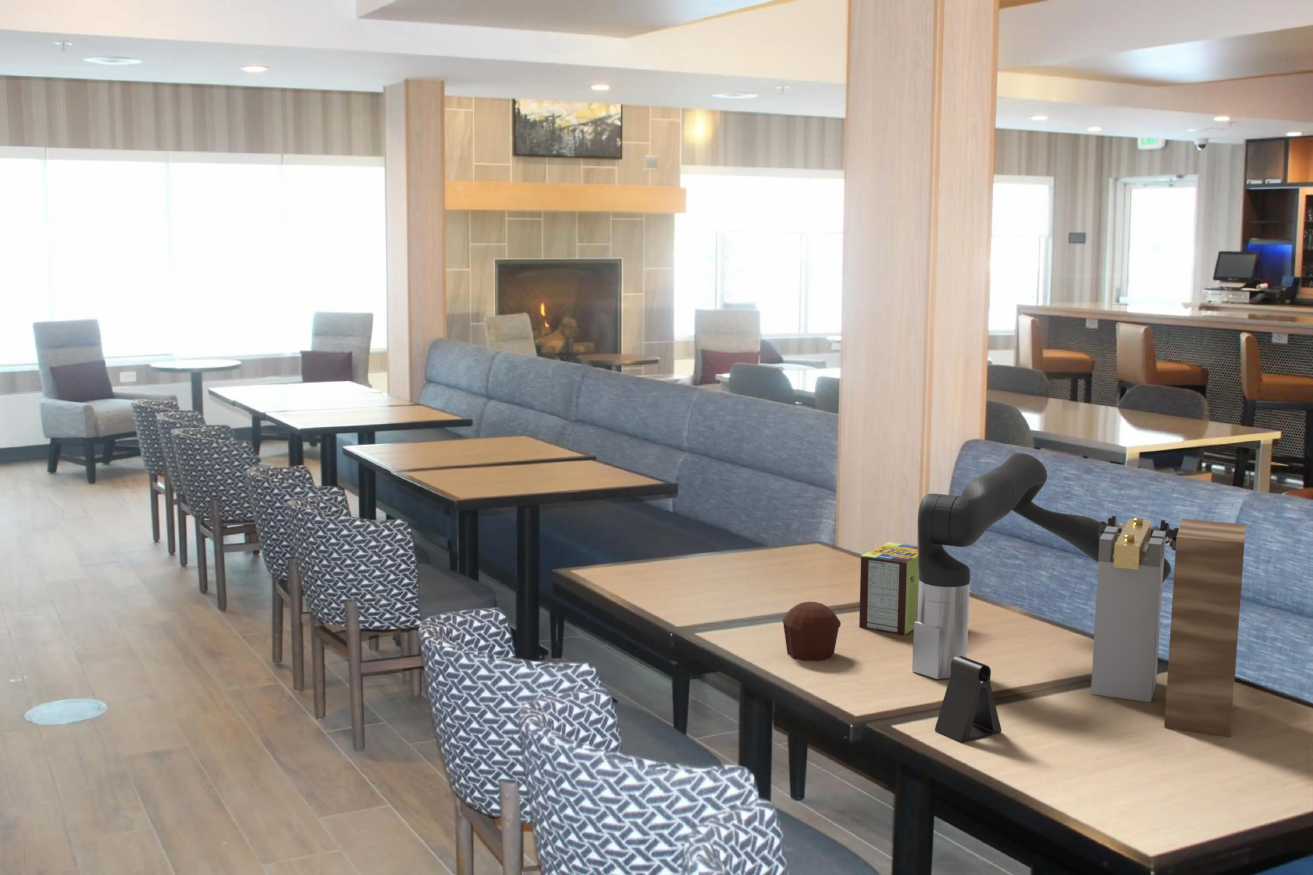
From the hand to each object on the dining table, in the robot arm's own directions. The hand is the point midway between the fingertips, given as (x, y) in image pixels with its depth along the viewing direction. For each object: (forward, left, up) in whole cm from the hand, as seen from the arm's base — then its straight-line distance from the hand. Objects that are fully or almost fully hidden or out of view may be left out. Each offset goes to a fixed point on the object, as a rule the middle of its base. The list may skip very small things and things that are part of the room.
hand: (1137, 522), depth 237 cm
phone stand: (-48, -1, -29) cm, 56 cm away
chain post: (-8, -4, -28) cm, 30 cm away
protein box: (-9, +49, -29) cm, 57 cm away
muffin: (-39, +44, -29) cm, 65 cm away
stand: (-11, -20, -28) cm, 37 cm away
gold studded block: (-6, -3, -4) cm, 8 cm away
